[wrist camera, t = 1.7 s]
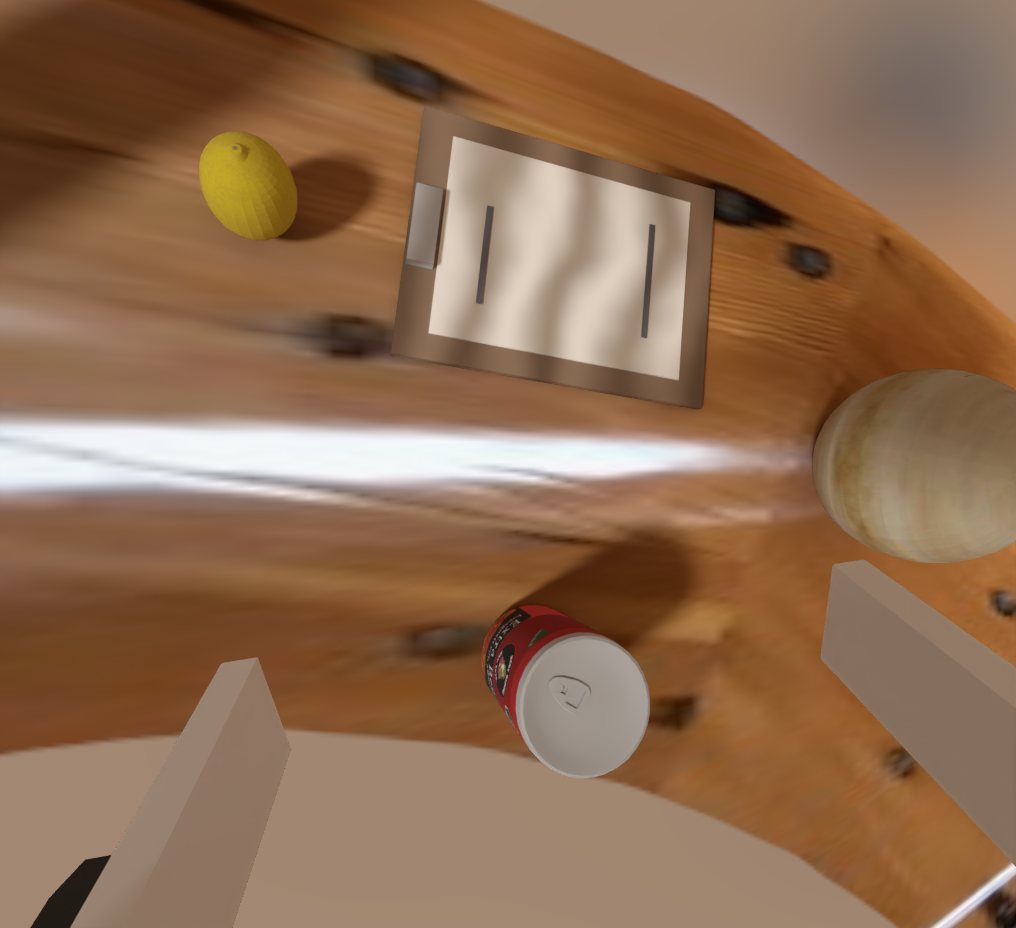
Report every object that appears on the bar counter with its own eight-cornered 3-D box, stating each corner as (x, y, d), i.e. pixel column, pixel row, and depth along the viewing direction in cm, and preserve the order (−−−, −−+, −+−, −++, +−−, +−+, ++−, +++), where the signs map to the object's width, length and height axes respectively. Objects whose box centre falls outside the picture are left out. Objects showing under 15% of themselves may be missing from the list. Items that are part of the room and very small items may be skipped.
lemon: (311, 199, 38) (295, 120, 31) (295, 269, 38) (276, 206, 30) (229, 176, 37) (192, 88, 30) (212, 248, 36) (169, 177, 29)
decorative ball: (849, 363, 50) (1045, 301, 35) (929, 494, 51) (1150, 486, 36) (742, 449, 46) (912, 419, 31) (830, 588, 47) (1034, 622, 32)
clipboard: (390, 355, 39) (391, 349, 37) (423, 111, 41) (425, 96, 40) (697, 409, 45) (708, 405, 44) (710, 194, 47) (721, 184, 46)
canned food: (494, 591, 39) (539, 620, 29) (589, 616, 41) (665, 652, 30) (465, 695, 38) (500, 765, 27) (564, 717, 40) (634, 791, 29)
